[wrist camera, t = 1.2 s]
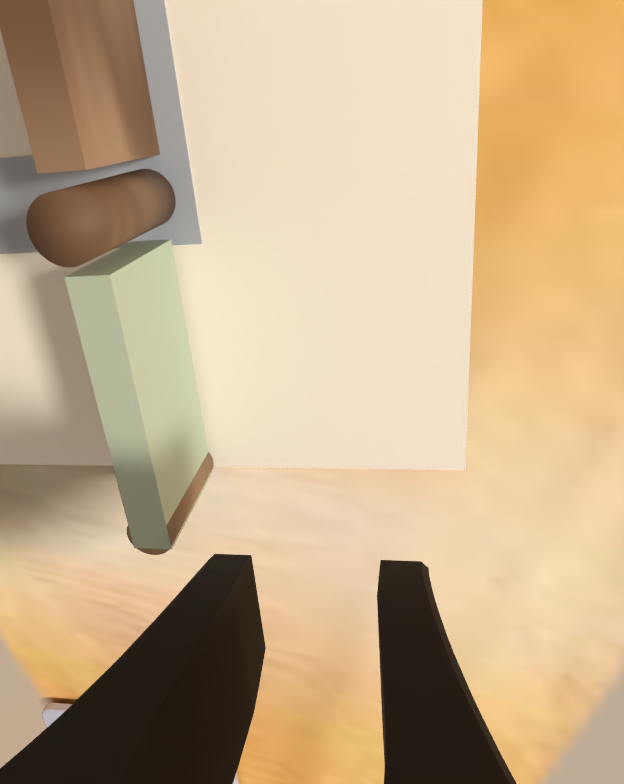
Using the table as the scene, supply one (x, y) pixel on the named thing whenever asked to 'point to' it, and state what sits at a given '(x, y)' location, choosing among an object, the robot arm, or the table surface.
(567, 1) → the table surface
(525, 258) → the table surface
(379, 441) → the card
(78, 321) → the fence panel
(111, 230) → the fence
